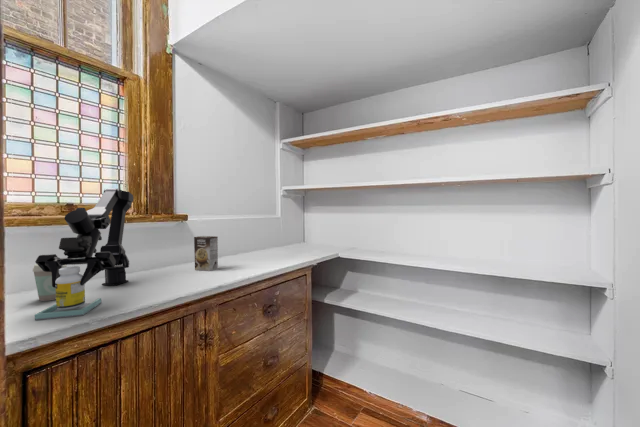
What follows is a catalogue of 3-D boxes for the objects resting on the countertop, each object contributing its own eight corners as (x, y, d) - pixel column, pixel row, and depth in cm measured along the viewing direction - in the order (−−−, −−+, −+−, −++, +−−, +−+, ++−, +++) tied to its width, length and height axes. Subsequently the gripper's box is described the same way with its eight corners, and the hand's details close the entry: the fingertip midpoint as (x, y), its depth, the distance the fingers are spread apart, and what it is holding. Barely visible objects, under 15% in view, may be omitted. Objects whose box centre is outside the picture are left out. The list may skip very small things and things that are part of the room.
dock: (59, 306, 87) (59, 301, 87) (101, 302, 90) (101, 298, 90) (34, 320, 77) (34, 314, 77) (82, 315, 80) (82, 310, 80)
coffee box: (194, 270, 136) (193, 237, 136) (203, 267, 142) (202, 235, 142) (210, 271, 133) (209, 237, 133) (218, 268, 140) (217, 235, 139)
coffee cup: (38, 304, 90) (36, 266, 90) (30, 299, 95) (28, 264, 95) (72, 296, 98) (70, 262, 97) (63, 292, 102) (61, 259, 102)
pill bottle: (54, 307, 83) (52, 268, 83) (82, 301, 88) (81, 264, 88) (58, 312, 79) (56, 271, 79) (87, 305, 84) (85, 267, 84)
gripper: (37, 228, 84) (10, 273, 74) (110, 226, 89) (94, 268, 79) (55, 250, 92) (33, 294, 82) (121, 247, 97) (108, 288, 87)
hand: (67, 285), depth 82 cm, fingers closed on pill bottle, 6 cm apart
